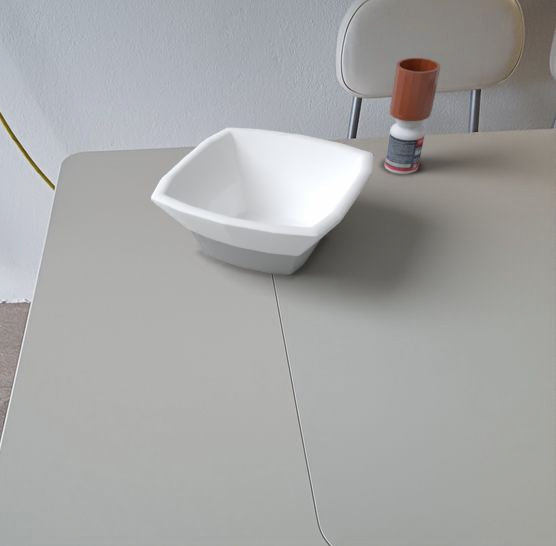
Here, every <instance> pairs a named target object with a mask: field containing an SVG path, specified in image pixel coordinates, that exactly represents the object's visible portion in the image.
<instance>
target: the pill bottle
mask: <svg viewBox="0 0 556 546" xmlns="http://www.w3.org/2000/svg"><path fill="white" fill-rule="evenodd" d="M423 123H424V120H421V121H404V120H400V119H397V118H395V123H394V124H392V125H391V127H390V129H389V135H388V141H387V148H386V154H385V160H384V168H385V169H386V170H387V171H389V172H392V173H395V174H401V175H408V174H412V173H415V172H416V171H417V170H418V169H419V165H420V160H421V155H422V150H423V145H424V140H425V134H426V130H425V127H424V126H423Z"/></svg>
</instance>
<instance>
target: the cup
mask: <svg viewBox="0 0 556 546" xmlns="http://www.w3.org/2000/svg"><path fill="white" fill-rule="evenodd" d="M440 70H441V64H440V63H439V62H438V61H436V60H433V59H431V58H425V57H406V58H402V59H400V60H398V61H397V62H396V66H395V72H394V79H393V86H392V93H391V99H390V105H389V114H390V116H391V117H393V119H396V118H397V119H400V120H404V121H421V120H423V121H424V120H427V119H429V118H430V117H431V114H432V112H433V105H434V101H435V96H436V91H437V86H438V81H439V76H440Z"/></svg>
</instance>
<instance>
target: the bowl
mask: <svg viewBox="0 0 556 546" xmlns="http://www.w3.org/2000/svg"><path fill="white" fill-rule="evenodd" d="M374 156H375V154H374V153H372V152H370V151H368V150H364V149H361V148H357V147H354V146H351V145H348V144H345V143H342V142H337V141H332V140H328V139H323V138H320V137H314V136H311V135H310V136H309V135H307V134H306V135H305V134H300V133H292V132H285V131H277V130H270V129H263V128H246V127H229V126H228V127H225V128H224V129H222V130H220V131H218V132H216V133H214V134H213V135H211V136H209V137H207V138H205V139H204V140H202V141H201V142H200V143H199V144H198V145H197V146H196V147H195V148H194V149H192V150H191V151H190V152H189V153H188V154H187V155H185V156H184V157H183V158H182V159H181V160H180V161H179V162H178V163H176V164H175V165H174V166H173V167H172V168H171V169H170V170H169V171H168V172H167V173H166V174H165V175H163V177H162V178H160V180H159V182H158V184H157V185H156V187H155V189H154V190H153V192H152V194H151V196H150V199H151V202H153V203H154V204H155V205H156V206H157V207H159V208H160V209H162V210H163V211H164V212H166V213H167V214H168V215H169V216H171V217H172V218H173V219H175V220H176V221H177V222H178V223H180V225H182V226H183V227H185V228H186V229H187V230H189V231H190V232H191V234H192V236H193V237H194V239H195V241H196V242H197V243H198V245H199V246H200V248H201V250H202V252H203V253H204V254H205V255H207V256H209V257H212V258H214V259H216V260H217V261H220V262H223V263H226V264H230V265H232V266H235V267H239V268H242V269H245V270H250V271H256V272H262V273H266V274H273V275H274V274H275V275H284V276H291V275H292V274H294V273H295V272H296V271H298V270H299V269H301V267H303V266H304V265H305V263H306V262H307V260H308V259H309V257H310V256H312V255H311V254H312V253H313V252H314V250H315V249H316V247H317V246H318V244H319V243H320V241H321V240H322V238H323V237H324V236H326V235H327V234H328V233H330V231H331V230H333V229H334V228H335V227H336V226H337V225H339V224H340V223H341V222H342V220H343V219H344V218H345V216H346V215H347V213H348V212H349V211H350V209H351V208H352V206H353V204H354V203H355V202H356V201H357V199H358V197H359V196H360V194H361V192H362V191H363V189H364V188H365V186H366V185H367V183H368V181H369V179H370V178H371V176H372V175H373V172H374V171H373V170H374Z"/></svg>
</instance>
